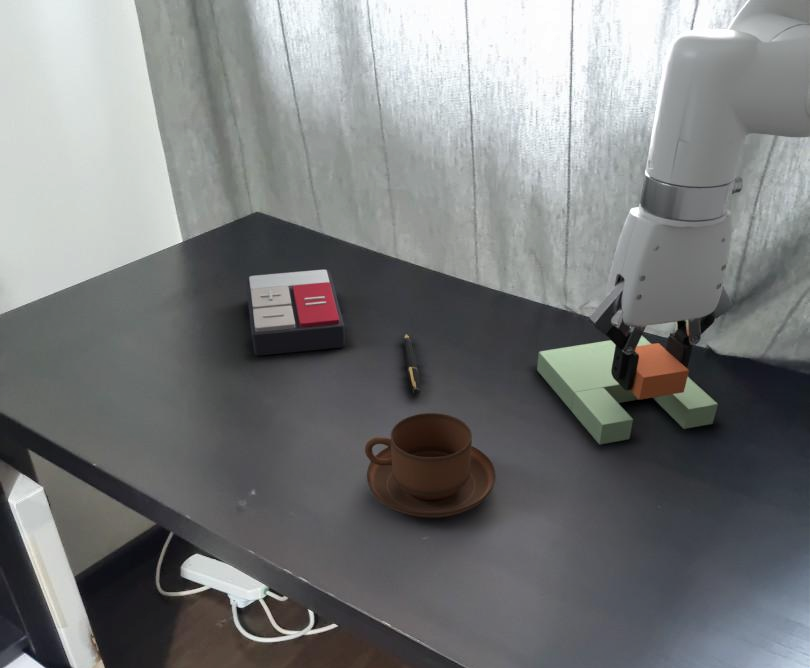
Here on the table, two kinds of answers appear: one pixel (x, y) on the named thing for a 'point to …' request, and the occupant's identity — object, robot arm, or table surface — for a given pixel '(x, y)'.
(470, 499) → the cup and saucer
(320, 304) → the calculator
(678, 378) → the orange block
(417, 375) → the fountain pen
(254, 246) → the table surface
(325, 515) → the table surface
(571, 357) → the base pad
